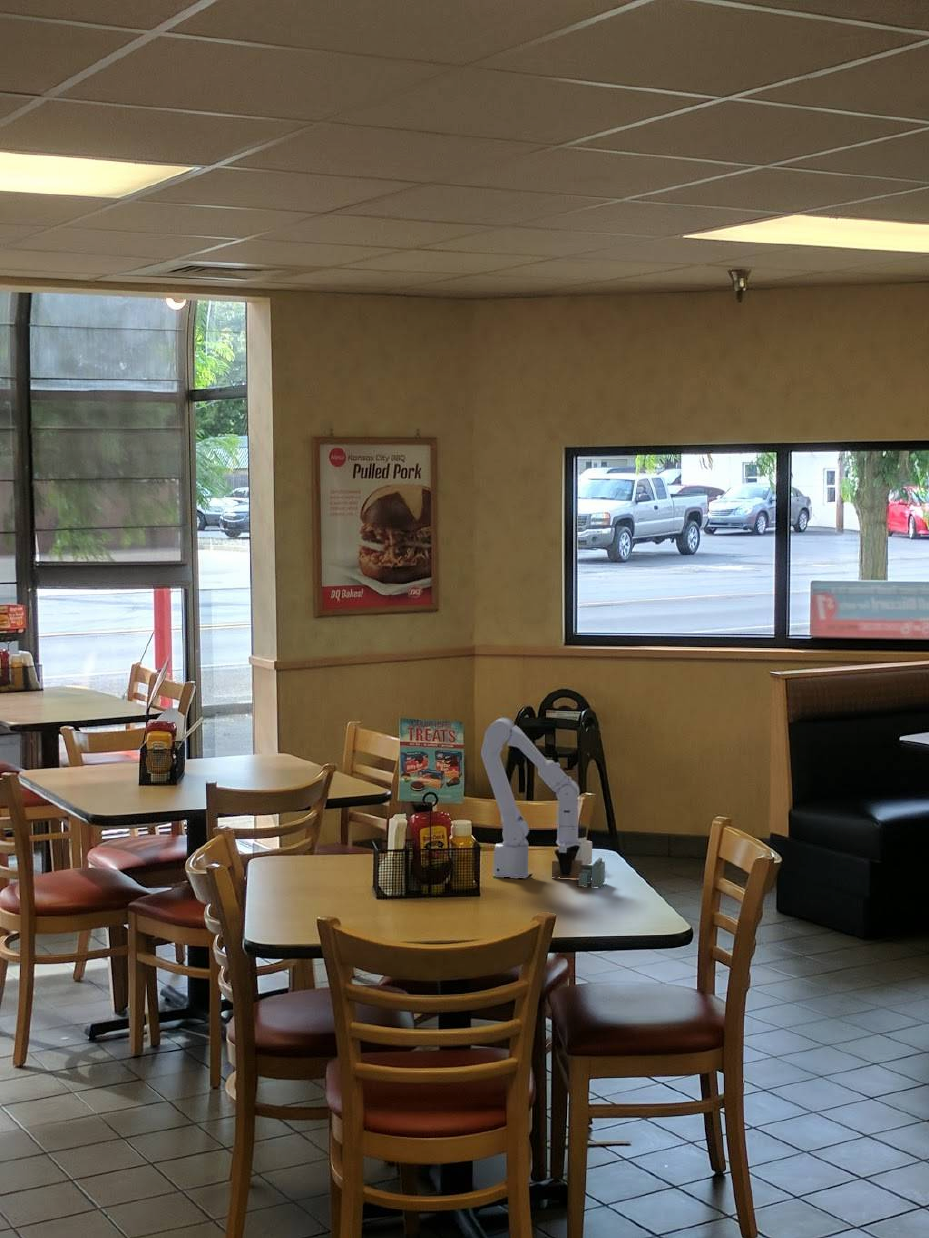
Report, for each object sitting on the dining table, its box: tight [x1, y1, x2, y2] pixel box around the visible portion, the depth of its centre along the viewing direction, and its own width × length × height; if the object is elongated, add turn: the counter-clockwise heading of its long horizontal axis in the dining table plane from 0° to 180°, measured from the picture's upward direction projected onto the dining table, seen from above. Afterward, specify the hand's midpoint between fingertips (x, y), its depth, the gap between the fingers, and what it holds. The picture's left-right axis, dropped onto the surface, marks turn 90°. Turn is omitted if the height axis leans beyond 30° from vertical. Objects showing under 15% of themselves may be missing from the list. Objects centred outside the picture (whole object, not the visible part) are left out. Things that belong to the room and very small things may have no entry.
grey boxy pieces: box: [578, 857, 606, 889], centre depth 396 cm, size 6×7×7 cm
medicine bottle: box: [575, 823, 593, 865], centre depth 420 cm, size 7×7×12 cm
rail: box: [551, 858, 593, 878], centre depth 404 cm, size 12×3×5 cm, turn 75°
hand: (567, 873), depth 404 cm, fingers open, 4 cm apart
